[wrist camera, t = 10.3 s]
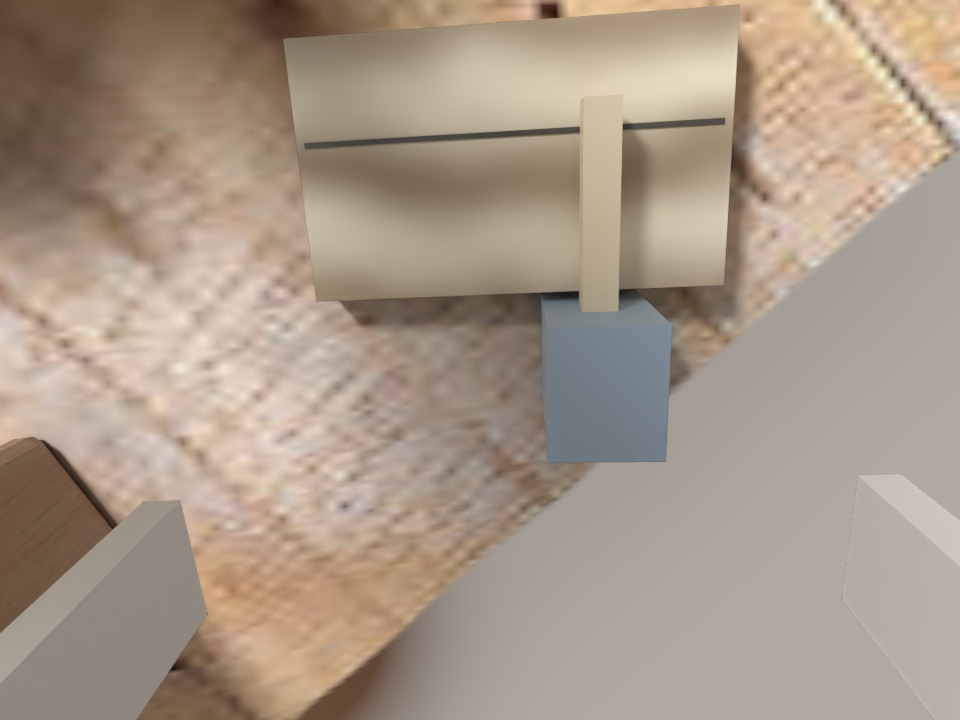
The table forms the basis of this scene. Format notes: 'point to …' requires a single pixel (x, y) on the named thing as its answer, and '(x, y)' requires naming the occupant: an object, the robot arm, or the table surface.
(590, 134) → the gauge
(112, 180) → the table surface
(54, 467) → the block
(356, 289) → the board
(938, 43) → the table surface
